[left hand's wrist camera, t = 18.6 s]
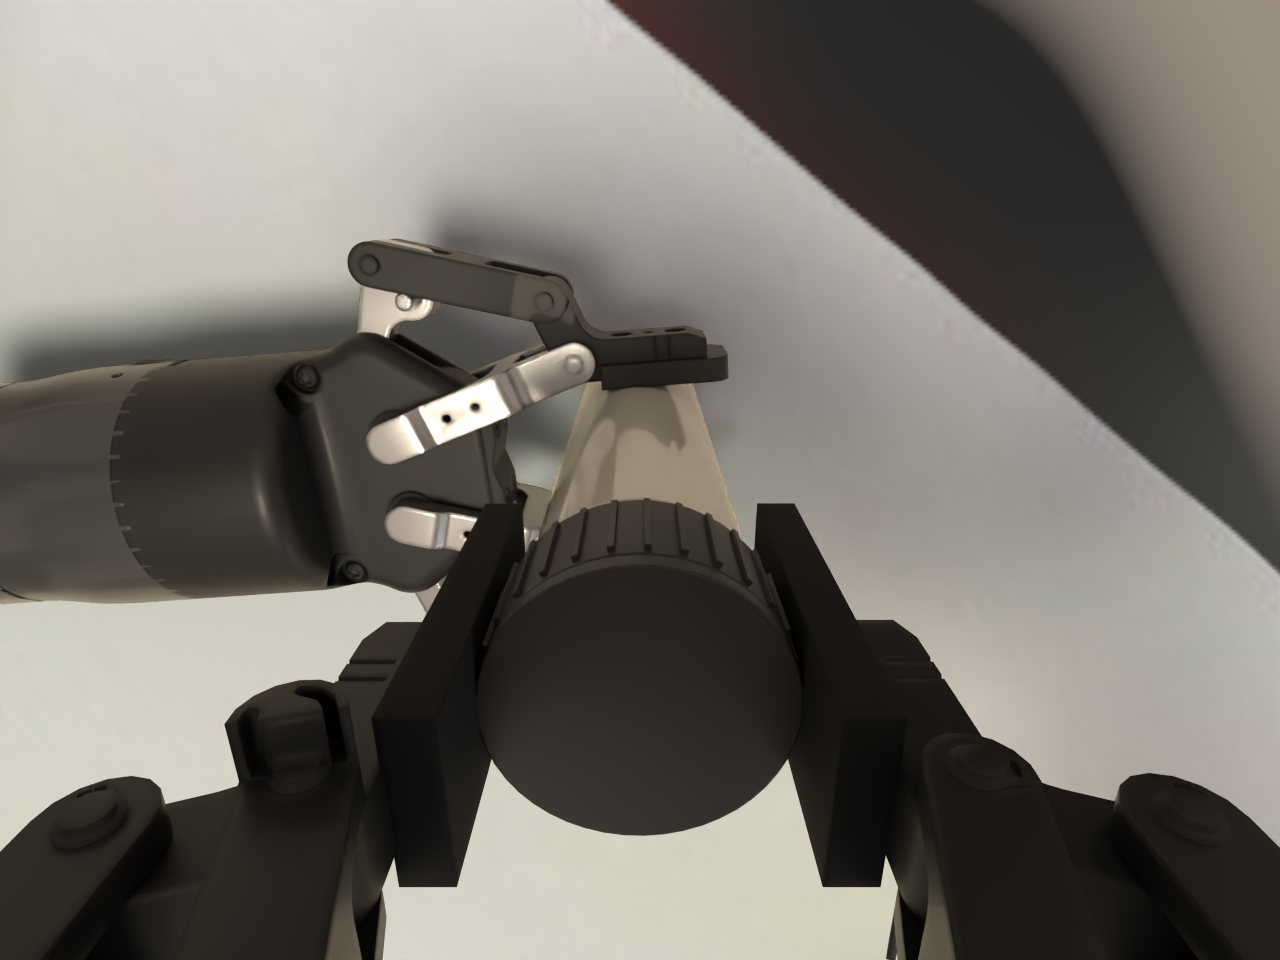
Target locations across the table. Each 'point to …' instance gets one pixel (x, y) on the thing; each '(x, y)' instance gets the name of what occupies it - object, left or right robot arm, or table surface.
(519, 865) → the table surface
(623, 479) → the cream cylindrical bottle
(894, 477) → the table surface
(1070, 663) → the table surface
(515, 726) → the lid
